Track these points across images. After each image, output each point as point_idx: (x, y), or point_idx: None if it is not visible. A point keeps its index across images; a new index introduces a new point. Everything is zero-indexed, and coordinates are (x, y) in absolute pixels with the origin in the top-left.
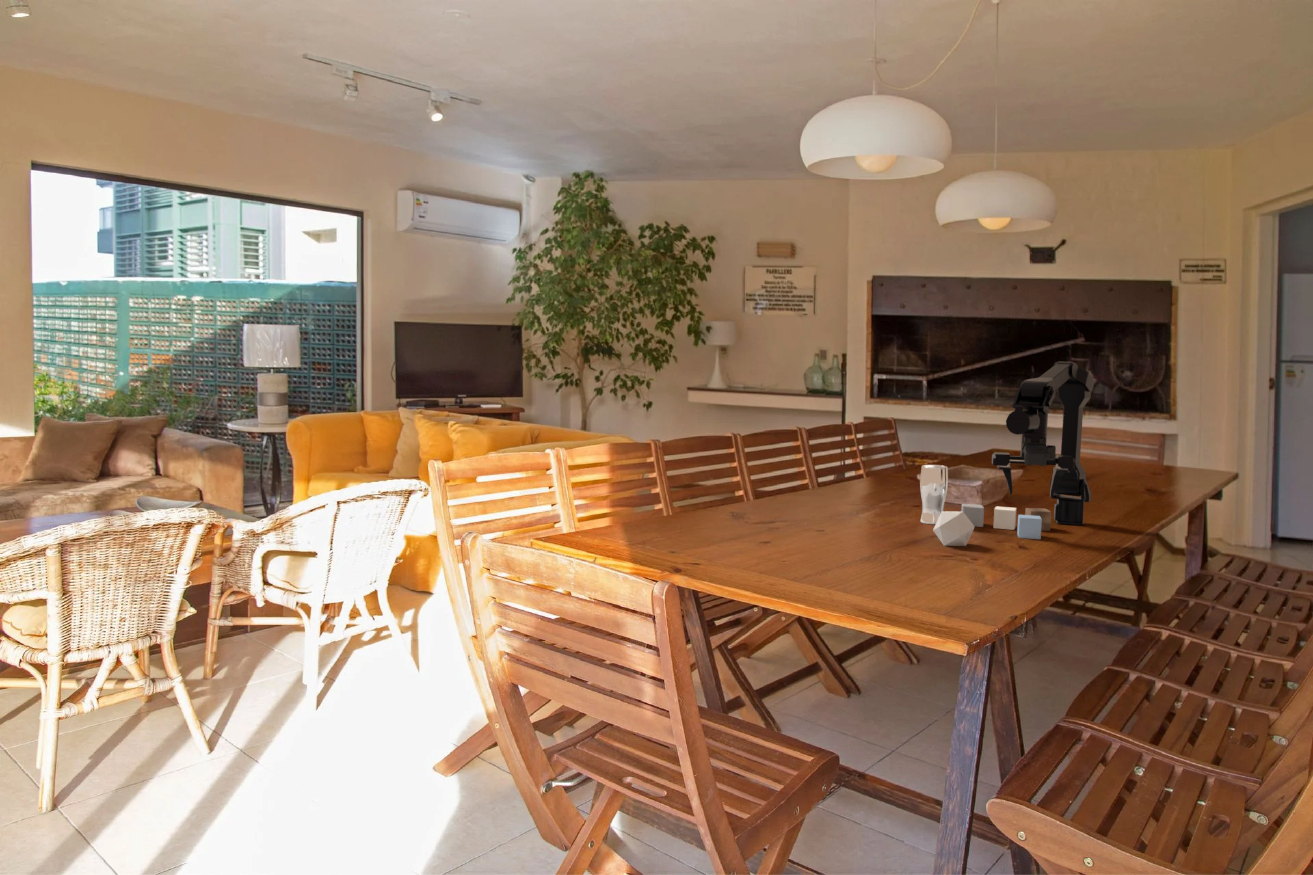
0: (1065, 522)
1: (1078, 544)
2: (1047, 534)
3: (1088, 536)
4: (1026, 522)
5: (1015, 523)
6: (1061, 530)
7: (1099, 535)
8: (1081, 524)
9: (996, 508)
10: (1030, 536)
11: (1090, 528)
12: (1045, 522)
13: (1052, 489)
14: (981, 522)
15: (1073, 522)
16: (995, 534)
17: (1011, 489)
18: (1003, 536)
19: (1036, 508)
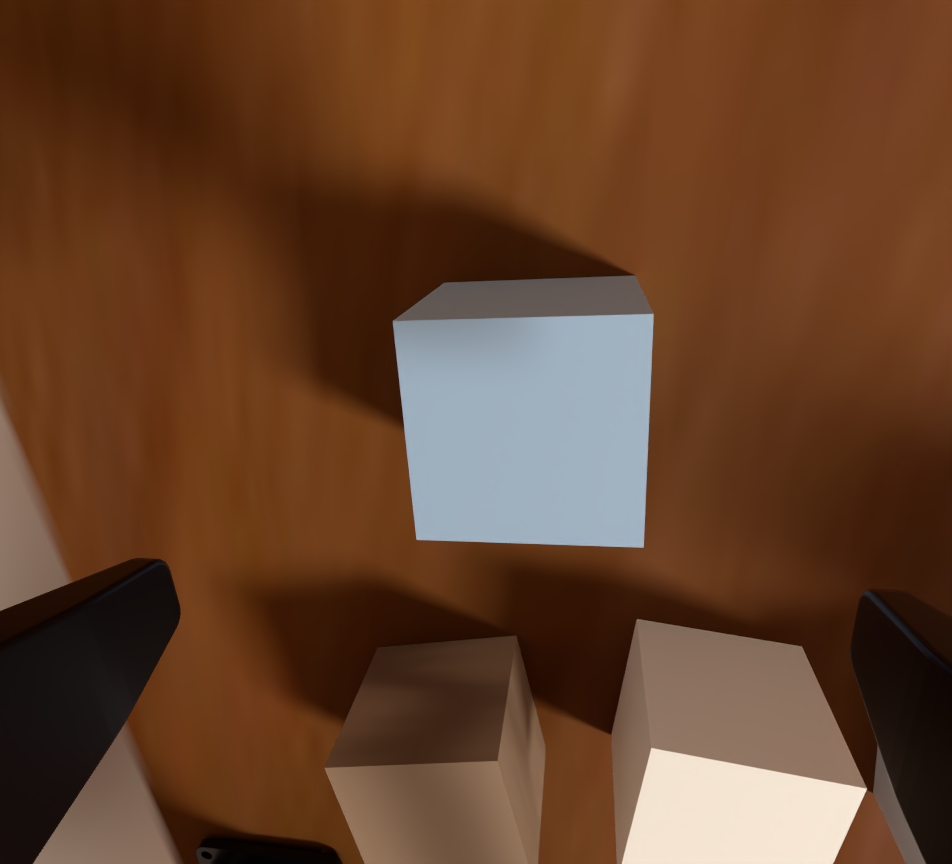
0: (293, 858)
1: (143, 162)
2: (393, 513)
3: (132, 531)
4: (567, 308)
5: (616, 738)
6: (309, 680)
7: None
8: (211, 841)
9: (830, 825)
10: (529, 283)
11: (161, 774)
12: (394, 690)
13: (30, 620)
14: None
15: (250, 861)
16: (844, 360)
17: (945, 643)
18: (779, 283)
19: None
